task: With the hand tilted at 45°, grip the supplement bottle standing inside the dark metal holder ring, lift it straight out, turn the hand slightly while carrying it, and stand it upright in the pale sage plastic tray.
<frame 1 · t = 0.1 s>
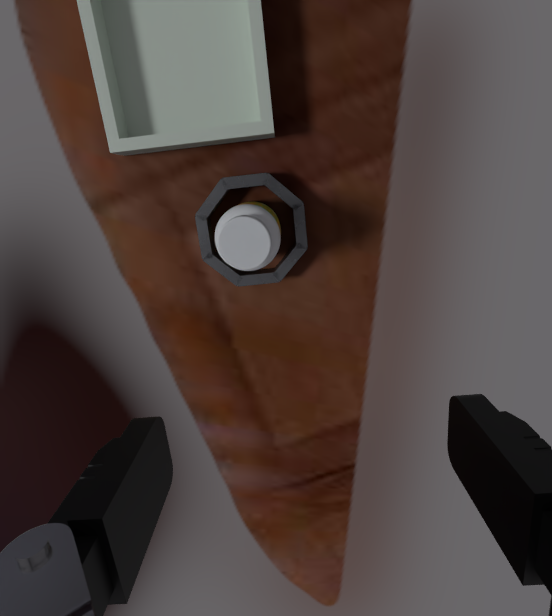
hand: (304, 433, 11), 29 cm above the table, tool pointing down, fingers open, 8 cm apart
supplement bottle: (253, 229, 38), resting in holder ring
tray: (185, 60, 34), on the table
holder ring: (253, 229, 38), on the table
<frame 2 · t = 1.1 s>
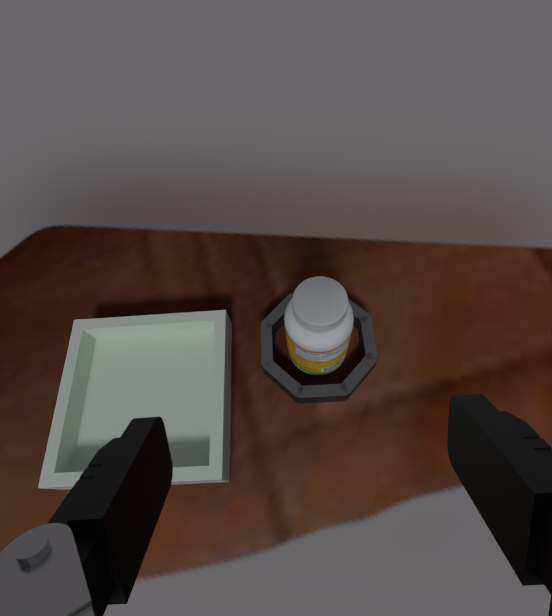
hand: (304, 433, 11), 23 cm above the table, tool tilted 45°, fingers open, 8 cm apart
supplement bottle: (316, 349, 36), resting in holder ring
tray: (153, 400, 35), on the table
holder ring: (317, 348, 36), on the table
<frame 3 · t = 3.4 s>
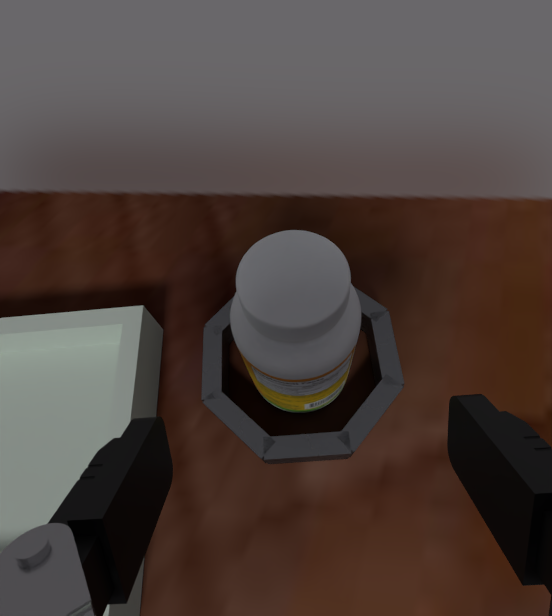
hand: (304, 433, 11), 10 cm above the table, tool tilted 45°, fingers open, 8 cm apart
supplement bottle: (299, 367, 22), resting in holder ring
tray: (23, 461, 21), on the table
holder ring: (299, 366, 22), on the table
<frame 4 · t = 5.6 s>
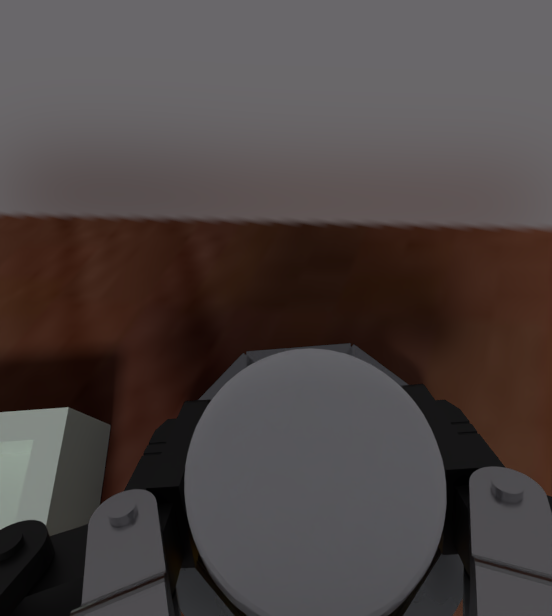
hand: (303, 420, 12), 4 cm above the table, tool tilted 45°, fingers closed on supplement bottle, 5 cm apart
supplement bottle: (310, 493, 15), resting in holder ring, touching gripper
holder ring: (310, 493, 14), on the table
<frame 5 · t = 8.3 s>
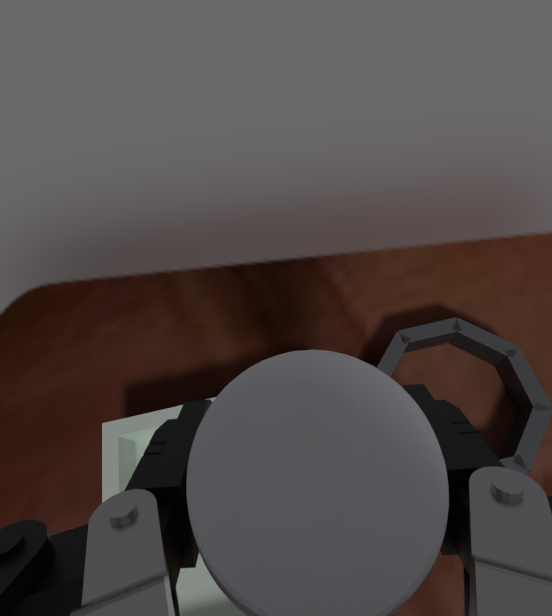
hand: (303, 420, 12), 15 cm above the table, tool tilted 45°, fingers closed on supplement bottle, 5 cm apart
supplement bottle: (311, 493, 15), point 11 cm above the table, touching gripper
tray: (238, 520, 24), on the table
holder ring: (448, 402, 26), on the table
when the fingers open (6 cm above the table, at t = 11.2 s): supplement bottle stays where it is, resting on tray.
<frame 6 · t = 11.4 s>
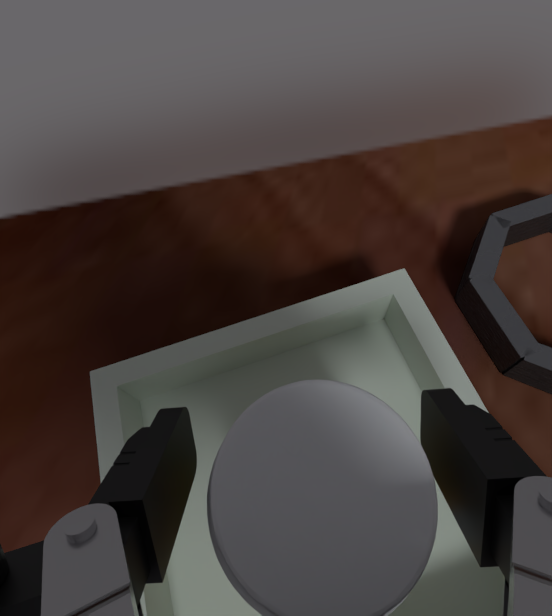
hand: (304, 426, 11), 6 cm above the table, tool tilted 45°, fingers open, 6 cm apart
supplement bottle: (314, 500, 16), point 1 cm above the table, touching tray
tray: (309, 494, 16), on the table
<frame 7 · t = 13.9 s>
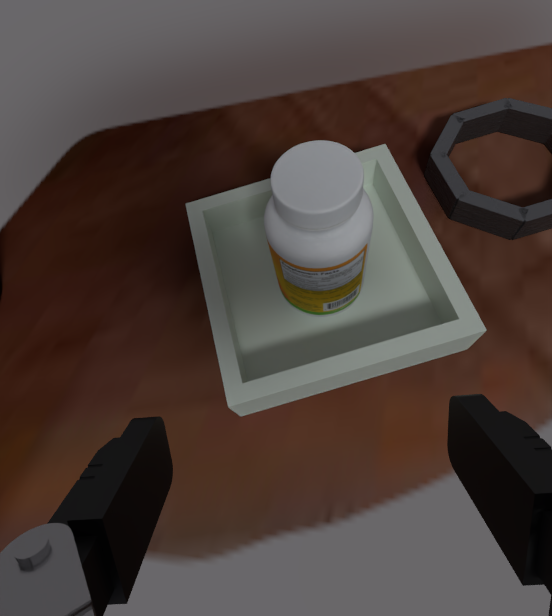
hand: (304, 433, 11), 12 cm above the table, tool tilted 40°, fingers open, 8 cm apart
supplement bottle: (320, 282, 26), point 1 cm above the table, touching tray
tray: (318, 283, 26), on the table
holder ring: (503, 176, 28), on the table
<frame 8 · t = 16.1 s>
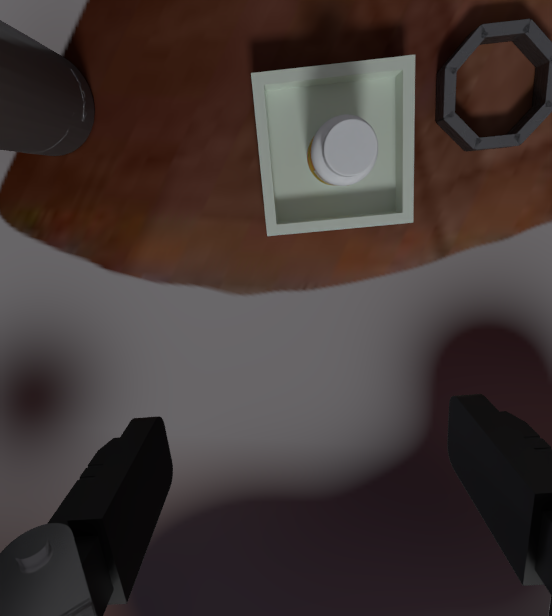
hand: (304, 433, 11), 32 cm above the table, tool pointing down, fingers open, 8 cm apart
supplement bottle: (334, 156, 38), point 1 cm above the table, touching tray
tray: (332, 154, 39), on the table
holder ring: (490, 92, 37), on the table
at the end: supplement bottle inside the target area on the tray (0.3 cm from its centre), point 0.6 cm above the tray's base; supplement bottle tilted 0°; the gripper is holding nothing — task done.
